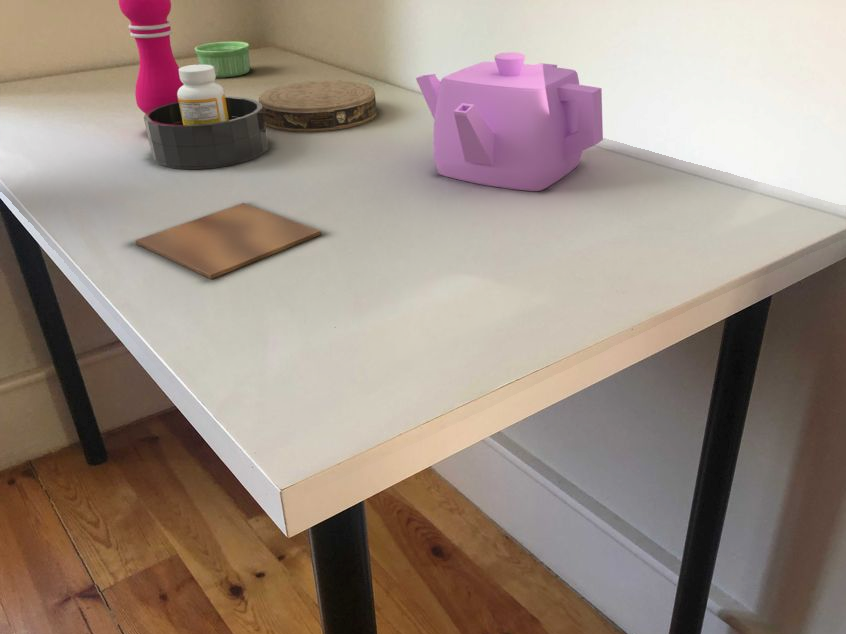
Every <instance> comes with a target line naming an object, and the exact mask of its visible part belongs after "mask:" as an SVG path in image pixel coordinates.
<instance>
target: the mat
mask: <svg viewBox="0 0 846 634" xmlns="http://www.w3.org/2000/svg"><path fill="white" fill-rule="evenodd" d="M321 235H322V232H321V230H319V229H317V228H313V227H311V226H308V225H305V224H303V223H300V222H297V221H294V220H292V219H288V218H286V217H283V216H280V215H278V214H275V213H272V212H269V211H268V210H267V211H266V210H265V209H261V208H259V207H256V206H253V205H250V204H247V203H244V202H242V203H240V204H236V205H233V206H231V207H227V208H225V209H222V210H219V211H217V212H213V213H211V214H208V215H205V216H202V217H198V218H196V219H194V220H191V221H190V220H189V221H186V222H184V223H181V224H179V225H175V226H173V227H170V228H167V229H163V230H161V231H159V232H155V233H152V234H150V235H147V236H143V237H141V238H137V239H135V244H136V245H137V246H139V247H142V248H144V249H147V250H148V251H151V252H153V253H155V254H157V255H159V256H161V257H162V258H163V257H164V258H165V259H168V260H170V261H172V262H174V263H176V264H178V265H180V266H183V267H184V268H187V269H189V270H191V271H194V272H195V273H197V274H199V275H201V276H204V277H206V278H208V279H210V280H213V279H215V278H218V277H220V276H223V275H225V274H228V273H230V272H233V271H236V270H238V269H241V268H242V267H243V268H244V267H245V266H247V265H250V264H252V263H255V262H257V261H260V260H262V259H265V258H267V257H270V256H272V255H274V254H277V253H280V252H282V251H285V250H287V249H289V248H292V247H294V246H296V245H297V246H298V245H299V244H302V243H304V242H307V241H308V240H311V239H314V238H316V237H318V236H321Z"/></svg>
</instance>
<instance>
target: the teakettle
mask: <svg viewBox="0 0 846 634" xmlns="http://www.w3.org/2000/svg"><path fill="white" fill-rule="evenodd" d="M525 60H526V55H525V54H523V53H520V52H500V53H497V54H495V55H494V61H482V62H479V63H476V64H473V65H469V66H467V67H464V68H462V69H460V70H456V71H454V72H452V73H450V74H447V75H445V76H443V77H442V79H439V78H438V77H437V74H436V73H431V74H424V75H420V76H417V77H416V78H415V79H416V83H417V85H418V87H419V90H420V92H421V93H422V95H423V98H424V101H425V102H426V105H427V107H428V109H429V111H430V114H431V116H432V118H433V134H432V137H433V138H432V144H433V145H432V151H433V152H432V153H433V159H434V163H435V165H436V168H437V171H438V173H439V175H440V176H444V177H446V178H450V179H455V180H459V181H463V182H467V183H472V184H477V185H481V186H482V185H483V186H487V187H495V188H502V189H509V190H517V191H526V192H527V191H528V192H541V191H544V190H545V189H547V188H549V187H550V186H553V185H554V184H556V183H557V182H558V181H560V180H561V179H562V178H564V177H565V176H567V175H568V174H570V173H571V172H572V171H573V170H574V169H576V168H577V167H578V165H579V164H580V161H581V158H582V155H583V152H584V151H586V150H588V149H590V148H593V147H595V146H597V145H598V144H599V143H600V142H603V141H604V131H603V130H604V129H603V128H604V127H603V93H602V91H603V90H602V87H597V86H590V85H583V84H580V79H579V74H578V72H577V71H576V70H575V69H570V68H564V67H558V64H552V63H543V62H540V63H537V64H528V63H525Z"/></svg>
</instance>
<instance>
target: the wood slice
mask: <svg viewBox="0 0 846 634" xmlns="http://www.w3.org/2000/svg"><path fill="white" fill-rule="evenodd" d="M376 101H377V100H376V90H375V88H374V87H372V86H371V85H369V84H365V83H360V82H357V81H347V80H314V81H313V80H312V81H305V82H303V81H302V82H295V83H289V84H285V85H279V86H275V87H273V88H271V89H270V88H269V89H268V90H265V91H264V92H262V93H261V94H259V96H258V102H259V103H261V104H262V108H263V115H264V121H265V127H269V128H272V129H274V130H280V131H287V132H301V133H302V132H303V133H304V132H305V133H312V132H314V133H315V132H327V131H329V132H330V131H334V130H335V131H336V130H342V129H343V130H344V129H349V128H353V127H356V126H359V125H363V124H365V123H367V122H369V121H372V120H373V119H374V118H375V117H376V116H377V115H378V114H377V113H378V112H377V102H376Z"/></svg>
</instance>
